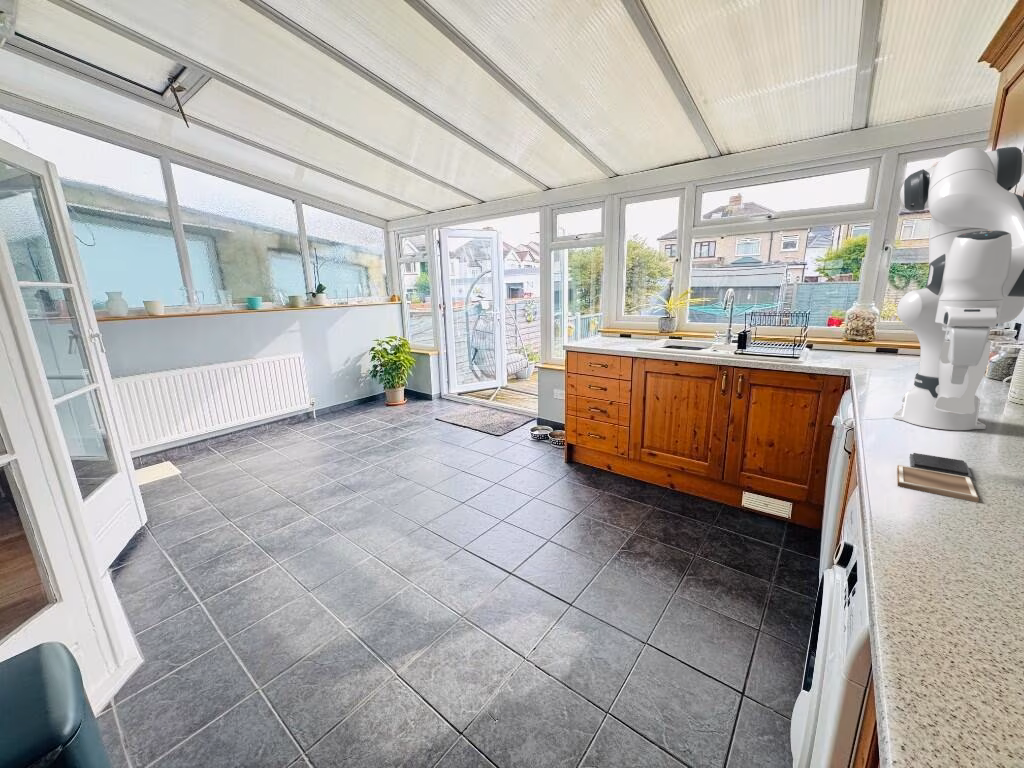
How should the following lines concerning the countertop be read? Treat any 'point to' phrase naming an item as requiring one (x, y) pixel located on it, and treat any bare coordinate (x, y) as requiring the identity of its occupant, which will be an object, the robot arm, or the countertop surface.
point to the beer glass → (959, 395)
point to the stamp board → (936, 482)
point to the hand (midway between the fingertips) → (954, 380)
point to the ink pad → (940, 464)
